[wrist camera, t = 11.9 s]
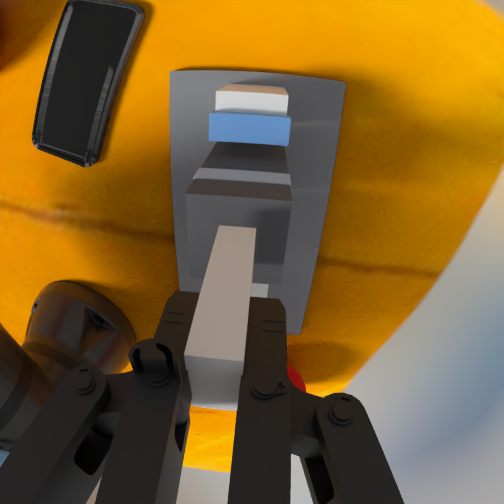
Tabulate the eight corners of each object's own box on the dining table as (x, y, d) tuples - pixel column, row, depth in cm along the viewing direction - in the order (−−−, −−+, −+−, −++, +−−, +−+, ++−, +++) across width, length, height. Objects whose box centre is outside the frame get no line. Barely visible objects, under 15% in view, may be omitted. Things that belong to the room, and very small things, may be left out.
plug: (221, 185, 26) (188, 278, 16) (222, 130, 23) (183, 192, 13) (278, 189, 26) (281, 286, 16) (283, 135, 23) (293, 200, 13)
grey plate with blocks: (185, 318, 36) (170, 373, 30) (173, 70, 22) (134, 77, 15) (299, 328, 36) (302, 385, 29) (343, 81, 21) (373, 91, 15)
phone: (30, 146, 24) (69, -7, 16) (37, 142, 25) (76, -6, 17) (94, 170, 26) (146, 6, 18) (99, 166, 27) (151, 8, 19)
